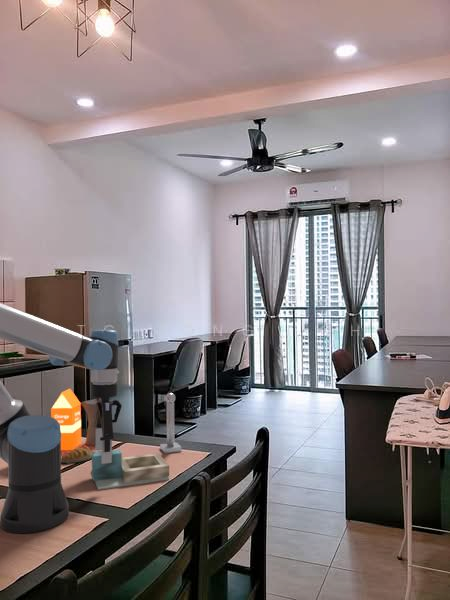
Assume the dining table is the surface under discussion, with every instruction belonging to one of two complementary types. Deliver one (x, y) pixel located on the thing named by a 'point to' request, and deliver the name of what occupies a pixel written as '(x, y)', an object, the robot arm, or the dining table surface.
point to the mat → (120, 483)
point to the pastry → (77, 455)
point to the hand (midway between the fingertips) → (103, 456)
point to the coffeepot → (91, 413)
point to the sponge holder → (129, 467)
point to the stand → (170, 427)
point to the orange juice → (68, 419)
